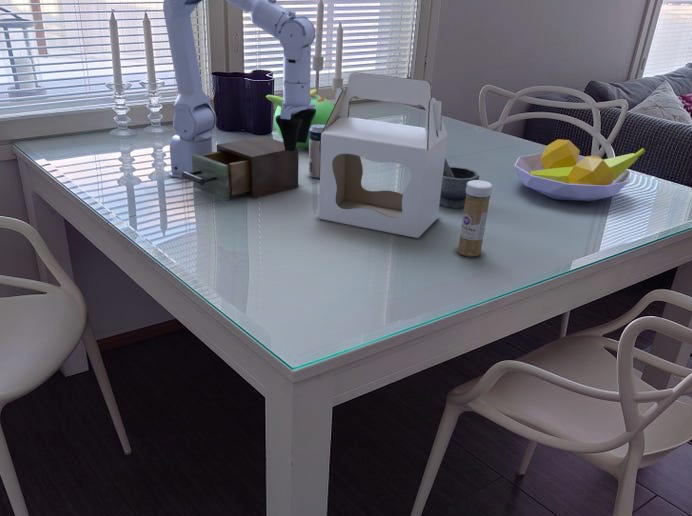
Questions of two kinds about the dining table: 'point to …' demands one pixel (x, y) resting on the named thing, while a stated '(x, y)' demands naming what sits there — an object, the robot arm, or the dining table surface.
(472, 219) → the sprinkles bottle
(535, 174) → the fruit bowl
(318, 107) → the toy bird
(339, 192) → the gable box
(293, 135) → the robot arm
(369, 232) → the dining table surface
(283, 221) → the dining table surface
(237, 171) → the green-fronted drawer
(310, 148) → the spice jar
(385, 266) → the dining table surface
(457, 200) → the mortar and pestle
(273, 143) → the cabinet
